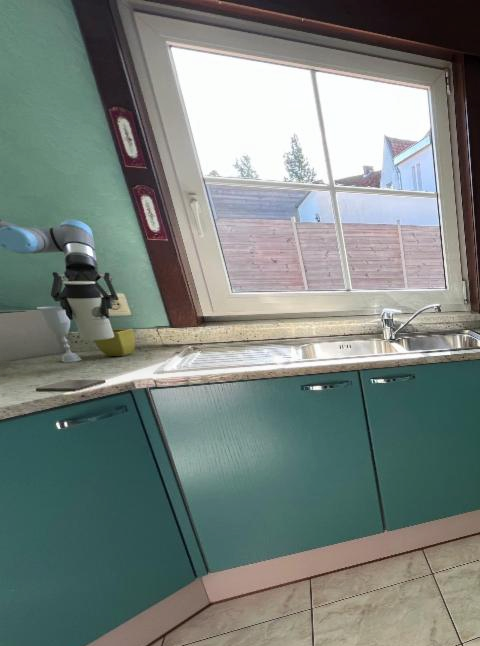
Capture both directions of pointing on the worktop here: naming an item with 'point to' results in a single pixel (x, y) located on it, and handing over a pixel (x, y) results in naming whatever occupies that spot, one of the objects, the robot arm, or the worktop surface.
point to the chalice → (59, 328)
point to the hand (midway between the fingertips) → (88, 316)
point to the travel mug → (88, 310)
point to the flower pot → (118, 343)
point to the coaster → (70, 385)
